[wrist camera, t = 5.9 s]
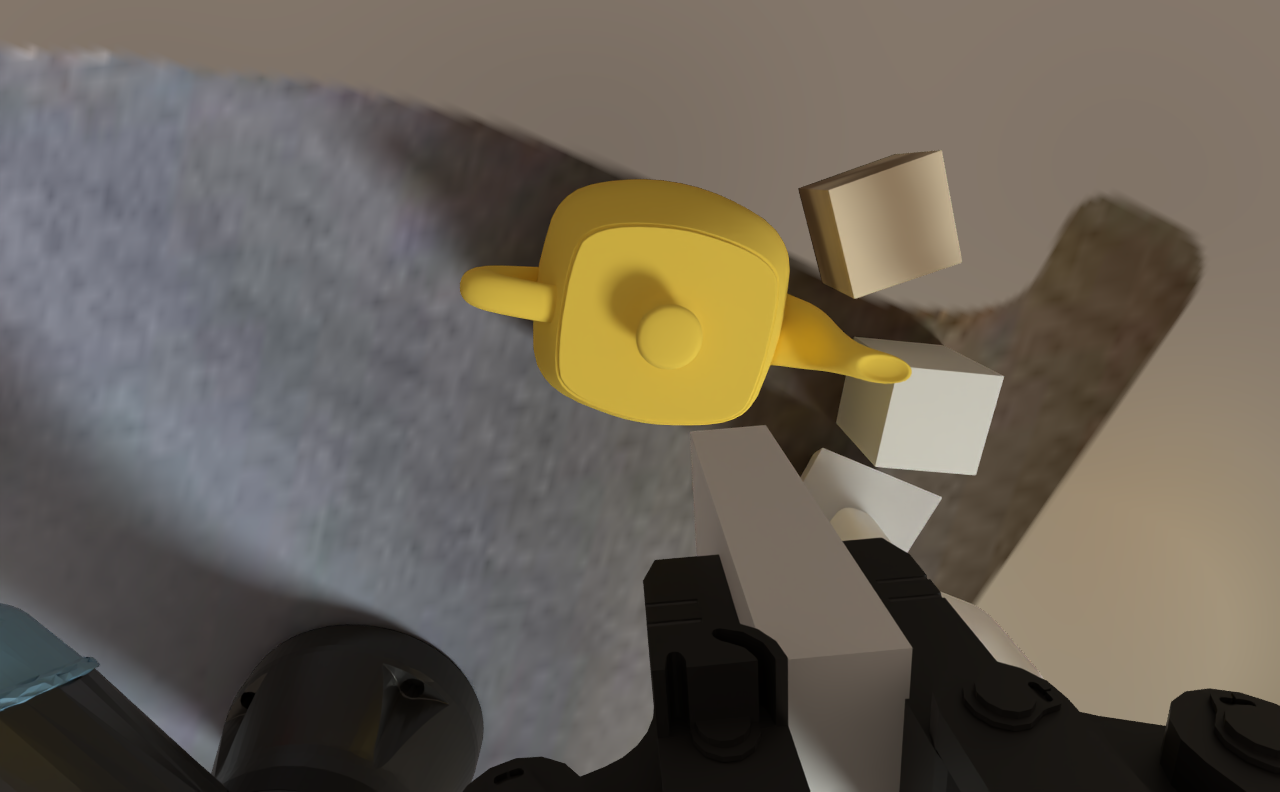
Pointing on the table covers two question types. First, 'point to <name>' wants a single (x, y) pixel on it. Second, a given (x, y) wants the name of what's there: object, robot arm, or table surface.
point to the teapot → (667, 306)
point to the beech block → (882, 223)
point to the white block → (922, 410)
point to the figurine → (893, 529)
